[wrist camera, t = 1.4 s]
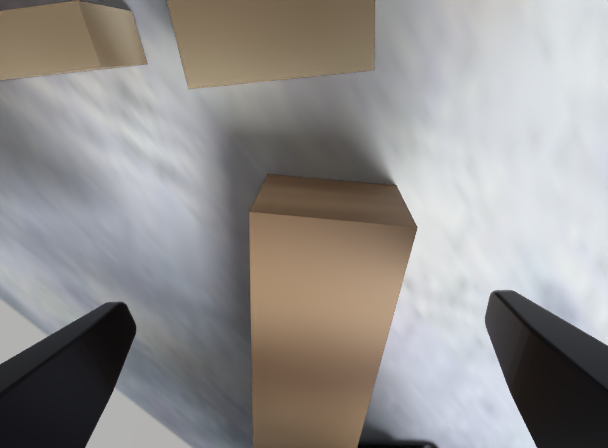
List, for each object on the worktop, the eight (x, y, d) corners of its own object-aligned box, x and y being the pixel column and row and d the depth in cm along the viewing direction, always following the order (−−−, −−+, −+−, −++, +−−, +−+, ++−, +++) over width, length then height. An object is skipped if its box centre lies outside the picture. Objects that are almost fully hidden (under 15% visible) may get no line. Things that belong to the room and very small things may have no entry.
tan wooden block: (345, 407, 16) (348, 478, 13) (265, 399, 16) (253, 467, 13) (394, 181, 10) (417, 227, 8) (269, 170, 10) (249, 211, 8)
